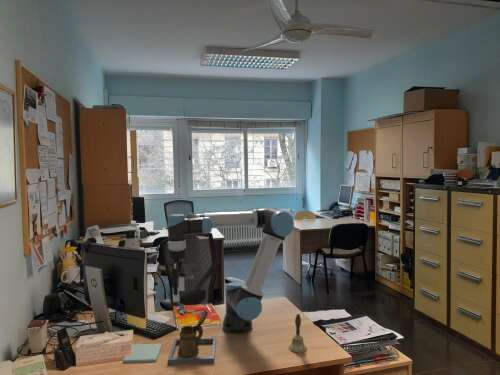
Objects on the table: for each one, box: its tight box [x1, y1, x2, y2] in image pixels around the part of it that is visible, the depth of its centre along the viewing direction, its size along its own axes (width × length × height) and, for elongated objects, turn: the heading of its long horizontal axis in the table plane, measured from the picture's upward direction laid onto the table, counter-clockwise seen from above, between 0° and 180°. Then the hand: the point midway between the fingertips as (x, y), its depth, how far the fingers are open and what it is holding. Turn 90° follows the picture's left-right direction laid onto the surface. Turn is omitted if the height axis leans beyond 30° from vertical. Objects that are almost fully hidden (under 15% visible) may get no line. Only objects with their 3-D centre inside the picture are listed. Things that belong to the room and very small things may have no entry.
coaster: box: [122, 343, 163, 363], centre depth 173 cm, size 14×14×1 cm
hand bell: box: [288, 313, 307, 354], centre depth 176 cm, size 8×8×16 cm
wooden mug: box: [177, 311, 209, 358], centre depth 173 cm, size 9×14×18 cm, turn 102°
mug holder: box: [167, 337, 217, 365], centre depth 174 cm, size 19×19×2 cm
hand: (179, 296), depth 174 cm, fingers open, 13 cm apart
